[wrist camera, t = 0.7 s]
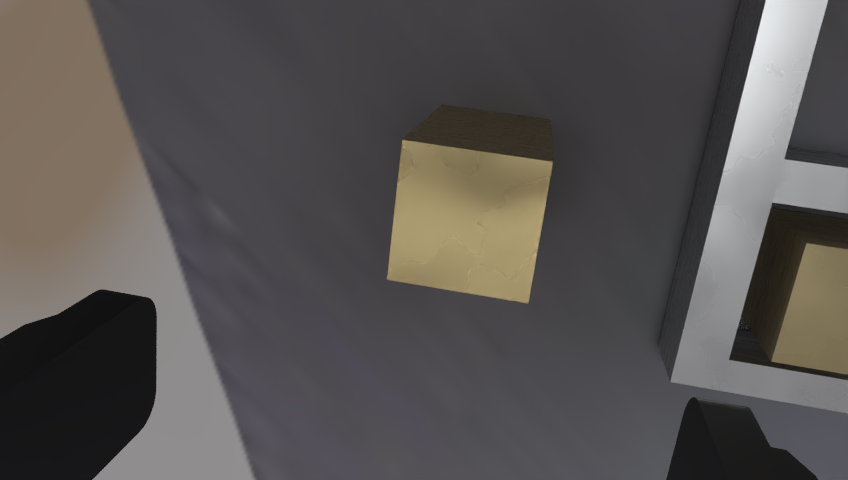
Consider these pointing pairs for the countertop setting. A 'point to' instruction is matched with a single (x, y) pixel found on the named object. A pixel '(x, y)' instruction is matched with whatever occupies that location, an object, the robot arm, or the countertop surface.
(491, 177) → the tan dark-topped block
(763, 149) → the white slotted tray
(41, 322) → the robot arm
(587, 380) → the countertop surface
